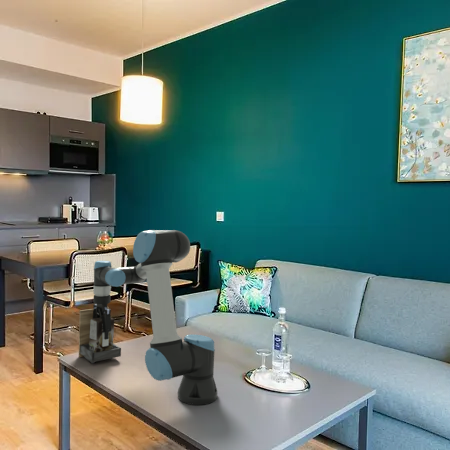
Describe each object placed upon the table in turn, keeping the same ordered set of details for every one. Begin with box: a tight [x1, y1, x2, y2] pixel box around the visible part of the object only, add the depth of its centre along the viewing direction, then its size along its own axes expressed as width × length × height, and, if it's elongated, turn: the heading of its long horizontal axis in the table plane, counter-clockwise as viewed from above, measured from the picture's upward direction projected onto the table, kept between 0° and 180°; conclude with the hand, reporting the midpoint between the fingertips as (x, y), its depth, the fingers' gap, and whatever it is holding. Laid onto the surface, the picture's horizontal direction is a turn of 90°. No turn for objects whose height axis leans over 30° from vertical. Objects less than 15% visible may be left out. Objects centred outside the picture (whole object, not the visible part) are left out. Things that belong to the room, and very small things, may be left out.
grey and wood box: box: [78, 306, 122, 364], centre depth 203 cm, size 15×14×22 cm
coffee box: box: [89, 317, 115, 353], centre depth 202 cm, size 9×6×16 cm
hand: (101, 343), depth 203 cm, fingers open, 8 cm apart
